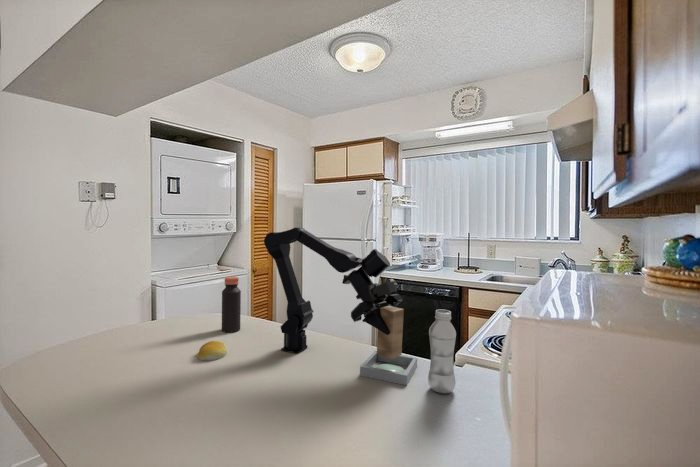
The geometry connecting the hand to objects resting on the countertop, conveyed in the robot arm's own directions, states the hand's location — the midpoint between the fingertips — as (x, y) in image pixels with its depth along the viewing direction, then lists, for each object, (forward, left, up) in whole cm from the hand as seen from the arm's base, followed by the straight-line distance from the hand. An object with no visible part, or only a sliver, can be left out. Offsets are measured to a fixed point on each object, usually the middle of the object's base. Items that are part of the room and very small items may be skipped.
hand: (394, 331), depth 94 cm
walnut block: (-1, 0, -7) cm, 7 cm away
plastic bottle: (+14, -5, -12) cm, 19 cm away
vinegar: (-66, +9, -12) cm, 68 cm away
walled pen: (-1, 0, -11) cm, 11 cm away
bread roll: (-54, -12, -12) cm, 57 cm away
